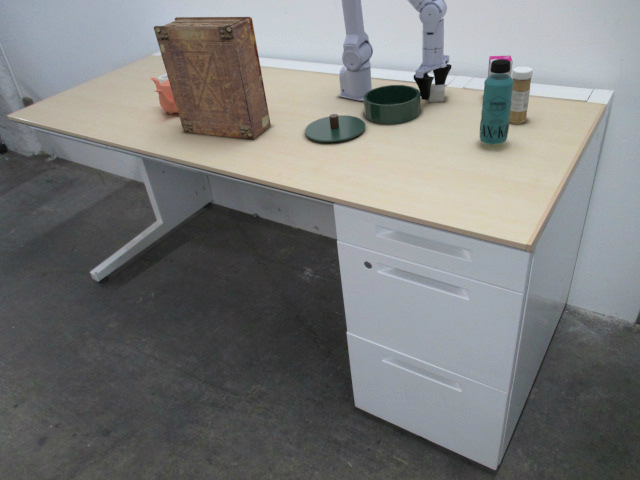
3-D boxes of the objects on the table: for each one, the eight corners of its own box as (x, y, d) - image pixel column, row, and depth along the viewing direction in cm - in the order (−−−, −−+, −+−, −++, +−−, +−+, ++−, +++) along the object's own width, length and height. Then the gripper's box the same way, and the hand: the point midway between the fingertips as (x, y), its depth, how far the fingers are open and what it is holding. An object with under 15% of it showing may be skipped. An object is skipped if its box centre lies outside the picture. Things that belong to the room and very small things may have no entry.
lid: (338, 149, 131) (337, 133, 128) (293, 136, 140) (290, 121, 138) (377, 125, 140) (376, 109, 137) (332, 115, 149) (330, 100, 147)
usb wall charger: (444, 102, 147) (444, 88, 145) (419, 103, 149) (419, 89, 147) (444, 97, 151) (444, 83, 148) (420, 98, 152) (420, 84, 150)
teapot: (208, 111, 163) (200, 77, 157) (164, 122, 160) (153, 88, 154) (201, 97, 175) (192, 65, 168) (159, 108, 172) (149, 75, 165)
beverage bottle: (474, 140, 126) (480, 58, 114) (501, 137, 126) (509, 54, 114) (484, 152, 120) (490, 67, 109) (512, 148, 120) (521, 63, 109)
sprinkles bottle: (517, 115, 135) (523, 64, 127) (530, 121, 131) (537, 68, 123) (503, 120, 133) (508, 68, 125) (516, 126, 130) (522, 73, 122)
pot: (399, 128, 137) (398, 109, 133) (354, 118, 146) (352, 99, 143) (430, 108, 145) (430, 89, 142) (386, 99, 154) (385, 81, 151)
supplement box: (508, 102, 142) (513, 61, 135) (486, 103, 143) (489, 62, 136) (506, 95, 146) (510, 54, 140) (485, 96, 148) (488, 55, 141)
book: (183, 132, 152) (152, 26, 135) (201, 119, 159) (174, 17, 141) (254, 140, 141) (231, 26, 124) (271, 126, 148) (251, 16, 130)
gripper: (431, 56, 134) (430, 105, 142) (459, 40, 143) (457, 88, 150) (408, 53, 139) (409, 101, 147) (437, 38, 147) (436, 84, 155)
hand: (432, 94), depth 149 cm, fingers open, 7 cm apart
